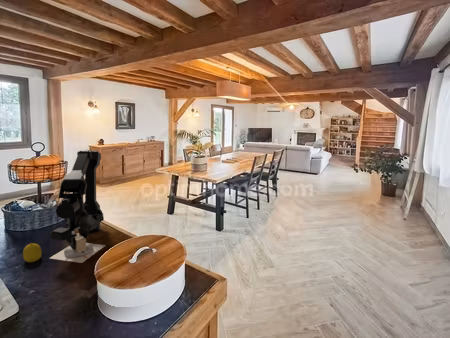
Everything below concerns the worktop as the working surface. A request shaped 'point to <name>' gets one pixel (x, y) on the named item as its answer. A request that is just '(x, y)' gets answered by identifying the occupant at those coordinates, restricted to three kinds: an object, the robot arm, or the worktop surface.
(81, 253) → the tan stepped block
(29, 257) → the lemon
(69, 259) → the dial plate
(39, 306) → the worktop surface
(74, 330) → the worktop surface
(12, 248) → the worktop surface
